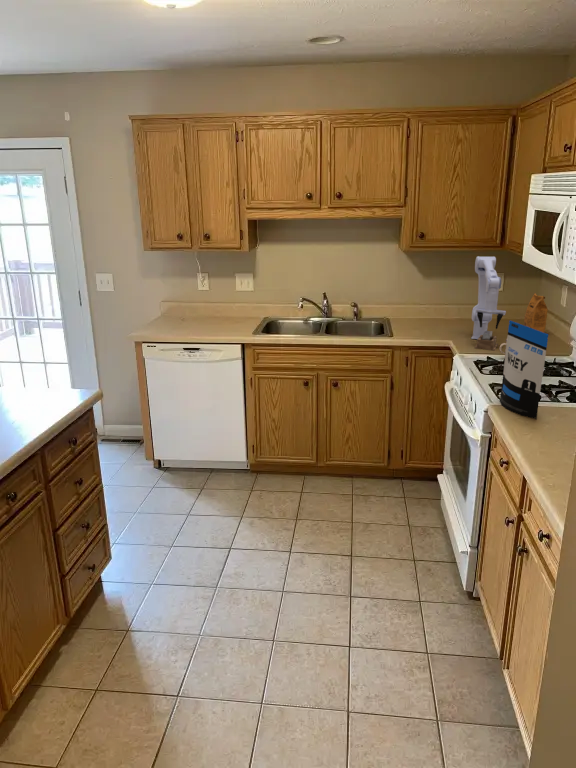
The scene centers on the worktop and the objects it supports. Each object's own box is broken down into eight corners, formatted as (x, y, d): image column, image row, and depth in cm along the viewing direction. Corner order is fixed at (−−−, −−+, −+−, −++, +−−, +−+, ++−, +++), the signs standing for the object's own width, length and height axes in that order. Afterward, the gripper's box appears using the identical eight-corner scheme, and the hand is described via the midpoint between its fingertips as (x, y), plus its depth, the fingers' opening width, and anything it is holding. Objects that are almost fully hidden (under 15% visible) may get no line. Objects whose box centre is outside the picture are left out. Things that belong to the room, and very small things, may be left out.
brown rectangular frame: (478, 342, 307) (478, 334, 306) (497, 344, 303) (498, 336, 301) (474, 348, 296) (475, 339, 294) (494, 350, 292) (495, 341, 290)
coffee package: (537, 330, 337) (542, 292, 330) (546, 335, 325) (552, 296, 318) (520, 330, 337) (525, 292, 330) (528, 335, 325) (534, 296, 318)
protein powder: (511, 396, 222) (521, 319, 213) (548, 418, 200) (561, 333, 191) (488, 397, 221) (497, 320, 212) (523, 420, 198) (535, 334, 189)
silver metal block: (483, 343, 303) (485, 330, 301) (490, 344, 302) (492, 331, 300) (481, 346, 296) (483, 333, 294) (488, 347, 295) (490, 334, 293)
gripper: (475, 301, 292) (472, 327, 296) (505, 303, 286) (502, 330, 290) (477, 299, 298) (475, 325, 302) (507, 301, 292) (504, 327, 296)
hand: (488, 327), depth 296 cm, fingers open, 7 cm apart
